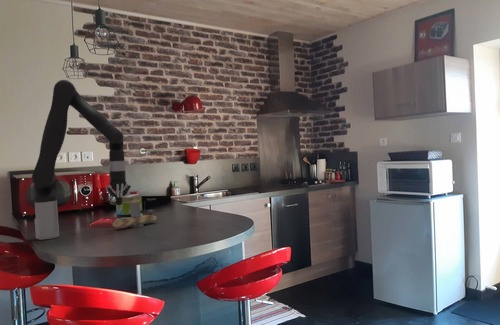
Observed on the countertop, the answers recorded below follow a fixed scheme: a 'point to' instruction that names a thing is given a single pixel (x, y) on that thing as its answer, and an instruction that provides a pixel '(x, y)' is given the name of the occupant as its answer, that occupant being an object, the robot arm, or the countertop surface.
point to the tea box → (127, 206)
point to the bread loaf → (136, 220)
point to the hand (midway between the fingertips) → (119, 204)
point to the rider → (135, 209)
